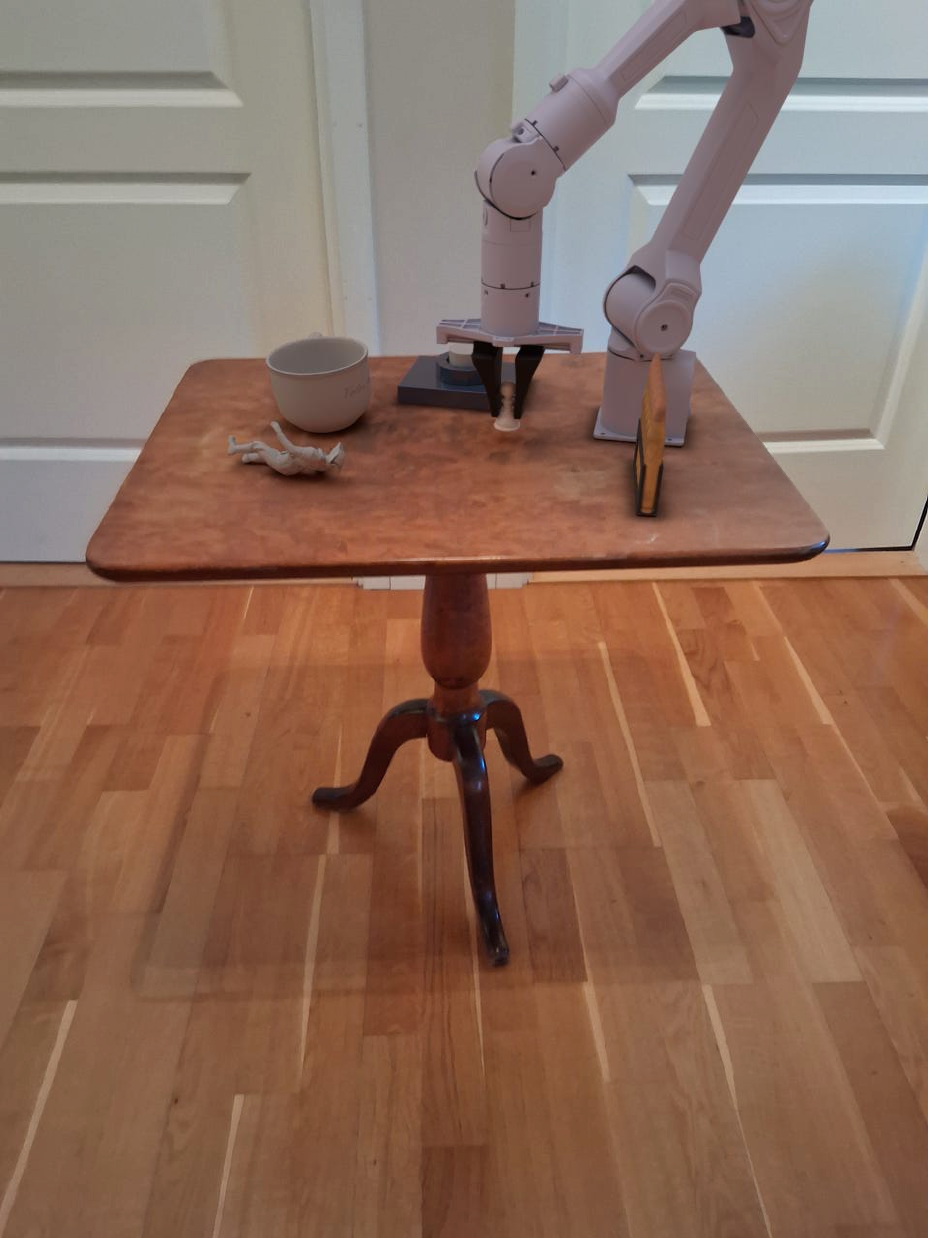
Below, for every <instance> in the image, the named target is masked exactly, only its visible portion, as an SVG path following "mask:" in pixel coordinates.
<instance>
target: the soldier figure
mask: <svg viewBox="0 0 928 1238" xmlns="http://www.w3.org/2000/svg"><path fill="white" fill-rule="evenodd" d="M269 426H270V427H272V429H273V430H274V432H275V433H276V434H277V436H276V438H277V439H278V441H279V442H280V443H281V446H282V447H283V448H284V449H285V450H284V451H283V450H282V451H279V450H278V449H276V448H273V447H270V446H269V445H268V444H266V443H265V442H263V441H262V440H254V441H253V442H249V443H244V444H236V438H235V436H233V435H229V436H228V438H227V444H228V448H227V455H228V456H234V455H236V454H239V455H240V454H241V455H243V456H242V457H241V463H243V464H248V463H249V462H265V463H266V465H268V466H269V467H270V468H271V469H274V470H275V471H277V472H279V473H281V474H282V475H284V476H291V475H296V474H298V473H299V472H302V471H304V470H307V471H317V472H325V471H326V470H327V469H334V468H335V469H336V470H337V471H338V472H339V474H340V473H342V471H343V469H344V467H345V463H346V458H345V451H344V448H343V445H342V442H341V441H339V442H338V444H337V445H336V446H335V447H333V448H330V452H329V451H328V450H329V448H327V449H325V450H324V451H323V449H322V448H319V447H317V449H316V448H315V447H313V446H309V445H308V446H305V447H303V446H300V445H299V446H296V445H294V444H293V443H292V442H291V441H290V440H288V437H287V436H286V435H285V434H284V433H283V431H282V429H281V428H282V427H281V426H280V424H279V423H278V422H277V421H273V420H272V422H270V424H269ZM328 453H329V454H328Z"/></svg>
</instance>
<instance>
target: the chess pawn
mask: <svg viewBox="0 0 928 1238" xmlns="http://www.w3.org/2000/svg"><path fill="white" fill-rule="evenodd" d="M500 392H501V394H502V395H503V396H504V398H503V399H502V400H501V402H502V403H503V406H502V408H501V409H500V411H499V416H498V417H495V418H496V419H495V421H494V423H493V427H494V428H495V429H496V430H498V431H500V432H505V433H507V432H508V433H509V432H515V431H517V430H518V429H520V428H521V425H522V424H521V423H520V419H514V407H513V406H512V404H513V403H514V401H515V400H514V399H513V398H512V396H513V395H514V394H515V393H516V385H515V383H514V382H513V381H510V380H506V381H504V382H503V383H502V384H501V386H500Z"/></svg>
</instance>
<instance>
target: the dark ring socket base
mask: <svg viewBox="0 0 928 1238" xmlns="http://www.w3.org/2000/svg"><path fill="white" fill-rule="evenodd" d="M506 380H510V381H513V382H514V383H515V385H516V376H515V362H511V361H509V362H508V361H502V369H501V384H502V383H503V382H504V381H506ZM396 389H397V403H398V404H400V405H411V406H422V407H423V406H425V407H436V408H444V409H445V408H446V409H455V410H456V409H457V410H467V411H468V410H470V411H481V412H491V410H490V405H489V400H488V397H487V393H486V390H485V387H484V385H483V382H482V380H481V377H480V375H479V373H478V371H477V370H476V368H475V366H472V367H462V366H454V365H451V364H449V350H448V351H445V352H443V353H440V354H439V355H438V356H432V355H419V356H418V357H416V360H415V361H414V362H413V363H412V365H411V366H410V368H409V369H408V371H407V372H406V373H405V375H404V376H403V377H402V379H401V380H400V381H399V383H398V384H397V387H396ZM503 398H504V396H503V395H502V399H503ZM512 398H513V399H514V400H515V394H514V395H513V396H512ZM514 402H515V401H514ZM502 406H503V403H502V405H501V408H502ZM512 406H513V407H514V403H513V404H512Z"/></svg>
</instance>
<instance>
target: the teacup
mask: <svg viewBox="0 0 928 1238" xmlns="http://www.w3.org/2000/svg"><path fill="white" fill-rule="evenodd" d="M265 365H266V367H267V369H268V370H267V371H268V374H269V380H270V384H271V388H272V389H271V390H272V394H273V396H274V401H275V404H276V407H277V409H278V411H279V413H280V415H281V416H282V417H283V418H284V419H285V420H286V422H289V423H290V424H292V425H294V426H295V427H297V428H299V429H300V430H303V431H305V432H309V433H317V434H321V433H323V434H326V433H333V432H338V431H342V430H344V429H346V428H349V427H350V426H352V425H353V424H354V423H356V421H357V420H358V419H359V418H360V417H361V416H362V415H363V414H364V413H365V412H366V410H367V409H368V407H369V405H370V402H371V394H372V391H371V390H372V388H371V376H370V374H371V373H370V365H369V348H368V346H367V345H366V344H365V343H364V342H362V341H361V340H359V339H356V338H352V337H347V336H340V335H338V336H336V335H326V336H325V335H323V334H322V333H321V332H318V331H316V332H310V333H309V334H308V337H306V338H301V339H296V340H292V341H290V342H289V341H288V342H286V343H284V344H282V345H280V346H278V347H276V348H274V349H273V350H272V351H270V352H269V354H267V356H266V358H265Z"/></svg>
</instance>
